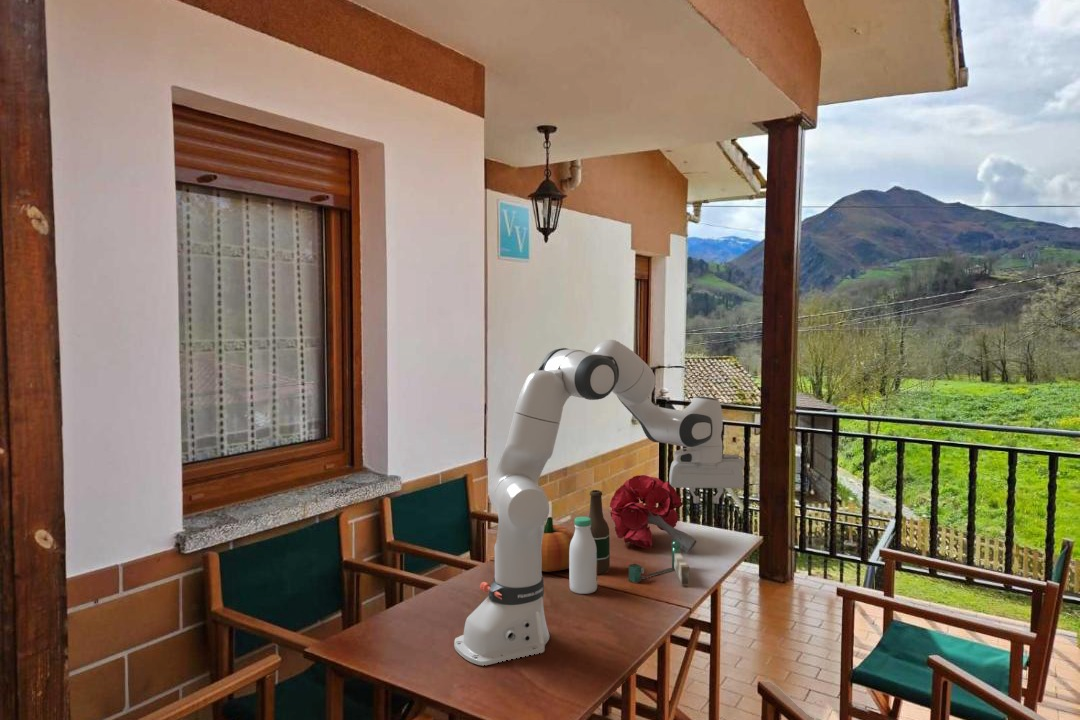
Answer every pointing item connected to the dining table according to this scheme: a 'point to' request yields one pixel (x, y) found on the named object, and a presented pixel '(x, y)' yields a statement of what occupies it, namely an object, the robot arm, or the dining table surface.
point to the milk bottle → (583, 558)
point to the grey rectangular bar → (681, 569)
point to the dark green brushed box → (635, 572)
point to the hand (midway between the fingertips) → (706, 503)
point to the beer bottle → (599, 532)
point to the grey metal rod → (657, 573)
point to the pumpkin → (555, 547)
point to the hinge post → (675, 549)
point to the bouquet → (647, 511)
